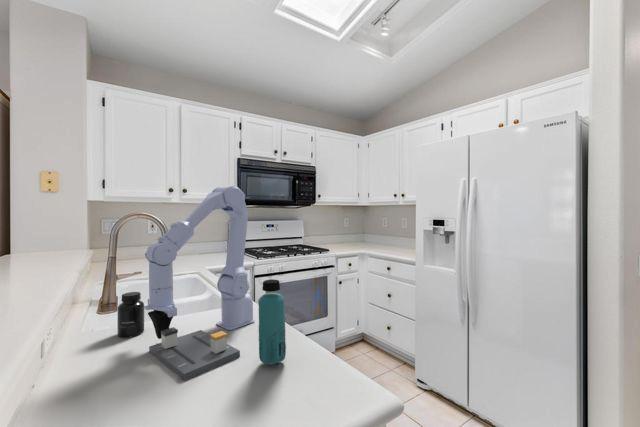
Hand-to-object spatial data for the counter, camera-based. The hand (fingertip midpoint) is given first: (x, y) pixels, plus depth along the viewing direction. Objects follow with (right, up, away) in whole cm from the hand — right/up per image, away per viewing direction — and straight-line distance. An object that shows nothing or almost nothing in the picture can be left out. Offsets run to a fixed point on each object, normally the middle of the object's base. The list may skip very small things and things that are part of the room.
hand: (162, 337), depth 81 cm
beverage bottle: (+31, -3, -9) cm, 33 cm away
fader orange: (+17, -1, -6) cm, 18 cm away
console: (+10, -3, -4) cm, 12 cm away
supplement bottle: (-14, -3, +9) cm, 17 cm away
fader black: (+4, -1, -3) cm, 5 cm away
